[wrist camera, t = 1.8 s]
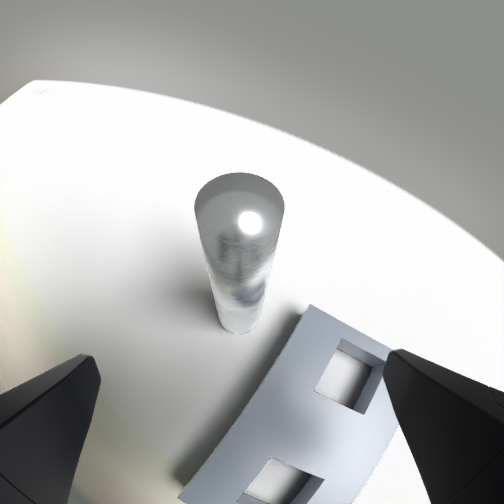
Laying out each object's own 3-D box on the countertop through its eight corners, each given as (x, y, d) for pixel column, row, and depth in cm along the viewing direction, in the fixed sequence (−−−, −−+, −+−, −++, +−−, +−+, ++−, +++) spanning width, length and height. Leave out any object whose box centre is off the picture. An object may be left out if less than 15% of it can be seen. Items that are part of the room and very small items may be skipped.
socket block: (303, 537, 11) (310, 551, 8) (184, 486, 13) (177, 497, 11) (405, 370, 18) (422, 365, 15) (302, 314, 20) (310, 303, 18)
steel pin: (245, 342, 19) (253, 258, 8) (210, 320, 20) (176, 214, 9) (267, 309, 20) (299, 195, 9) (233, 289, 21) (228, 162, 10)
